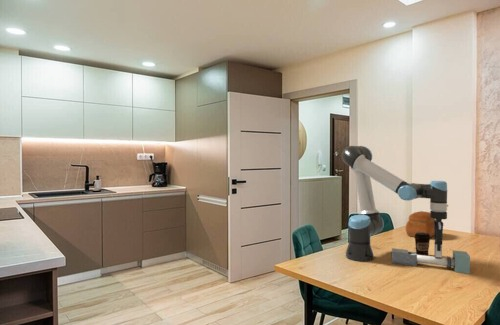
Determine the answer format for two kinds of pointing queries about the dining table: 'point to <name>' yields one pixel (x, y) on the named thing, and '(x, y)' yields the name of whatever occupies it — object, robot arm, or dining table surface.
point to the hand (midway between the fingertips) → (438, 255)
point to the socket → (461, 262)
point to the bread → (420, 224)
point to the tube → (436, 260)
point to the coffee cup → (422, 243)
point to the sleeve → (404, 257)
